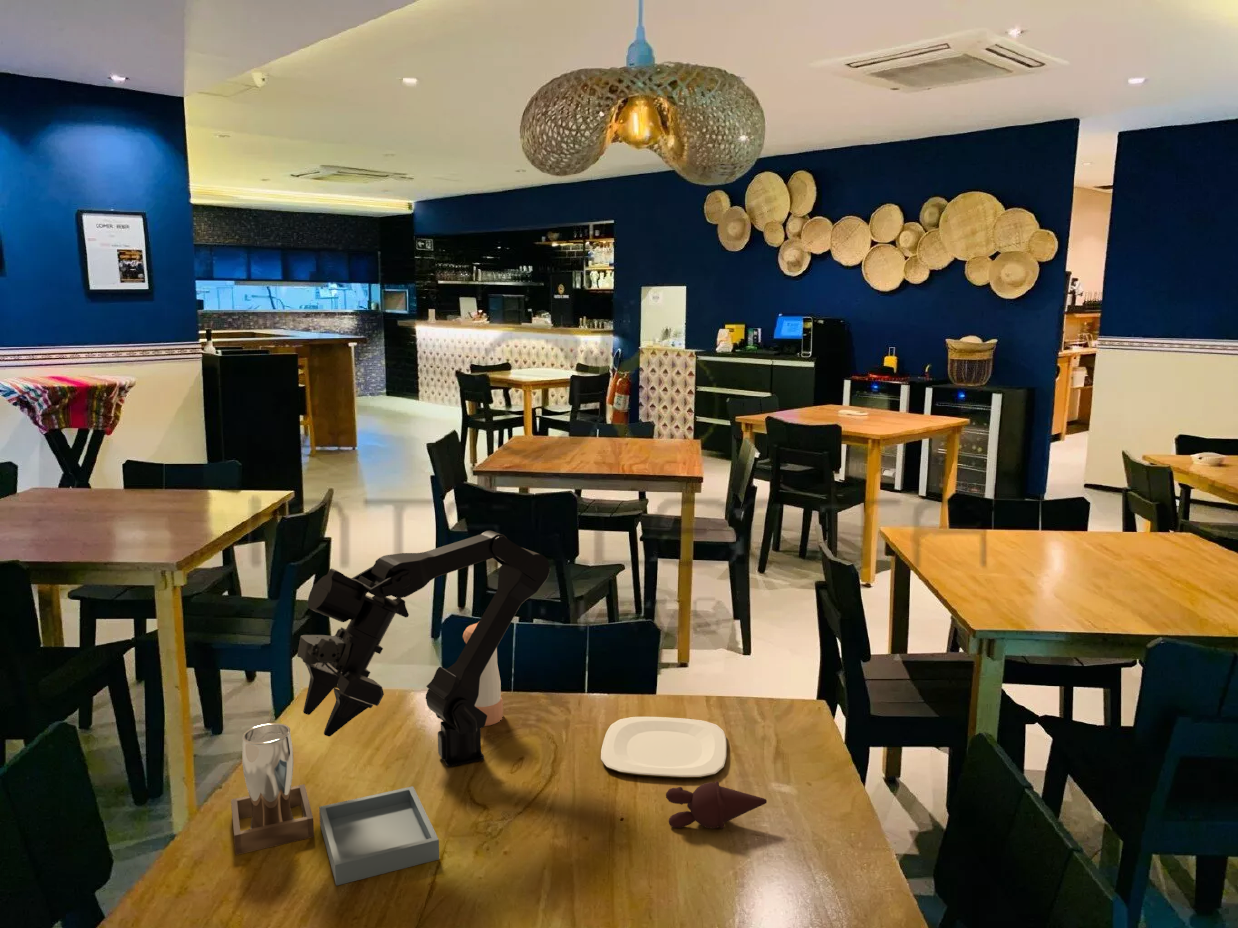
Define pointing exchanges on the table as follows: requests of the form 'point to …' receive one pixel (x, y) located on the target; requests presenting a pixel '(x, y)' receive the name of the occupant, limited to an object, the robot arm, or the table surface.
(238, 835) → the rectangular frame
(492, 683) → the salt shaker
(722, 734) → the plate
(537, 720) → the table surface
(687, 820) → the icecream
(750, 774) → the table surface
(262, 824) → the silver metal cup
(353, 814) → the tray
